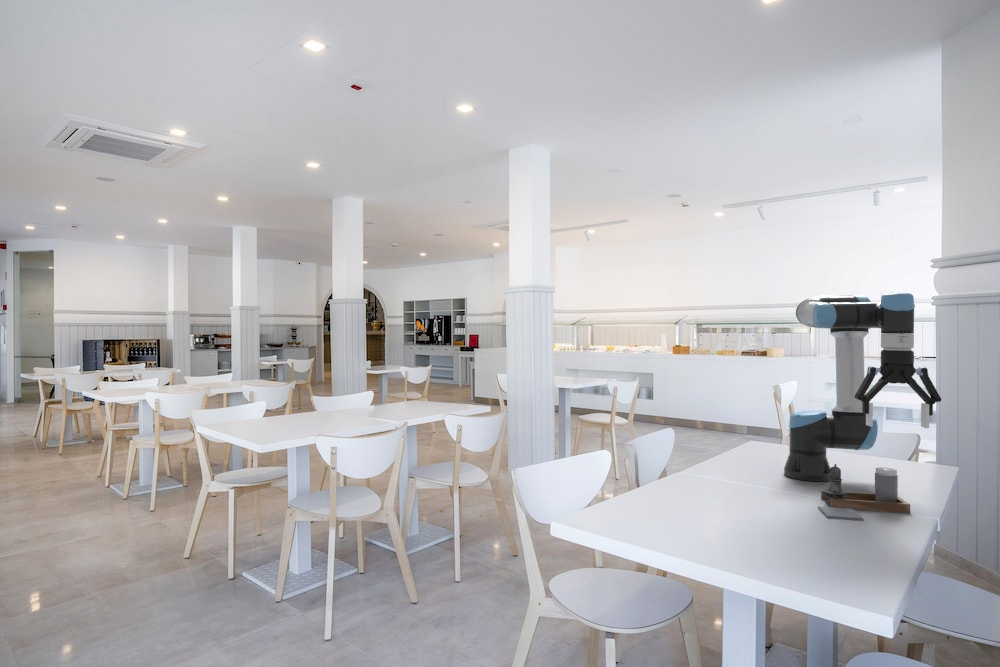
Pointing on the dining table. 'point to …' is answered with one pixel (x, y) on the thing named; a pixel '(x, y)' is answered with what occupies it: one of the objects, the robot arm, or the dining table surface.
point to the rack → (867, 503)
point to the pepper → (886, 485)
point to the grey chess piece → (835, 485)
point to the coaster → (840, 513)
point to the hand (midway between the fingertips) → (896, 426)
